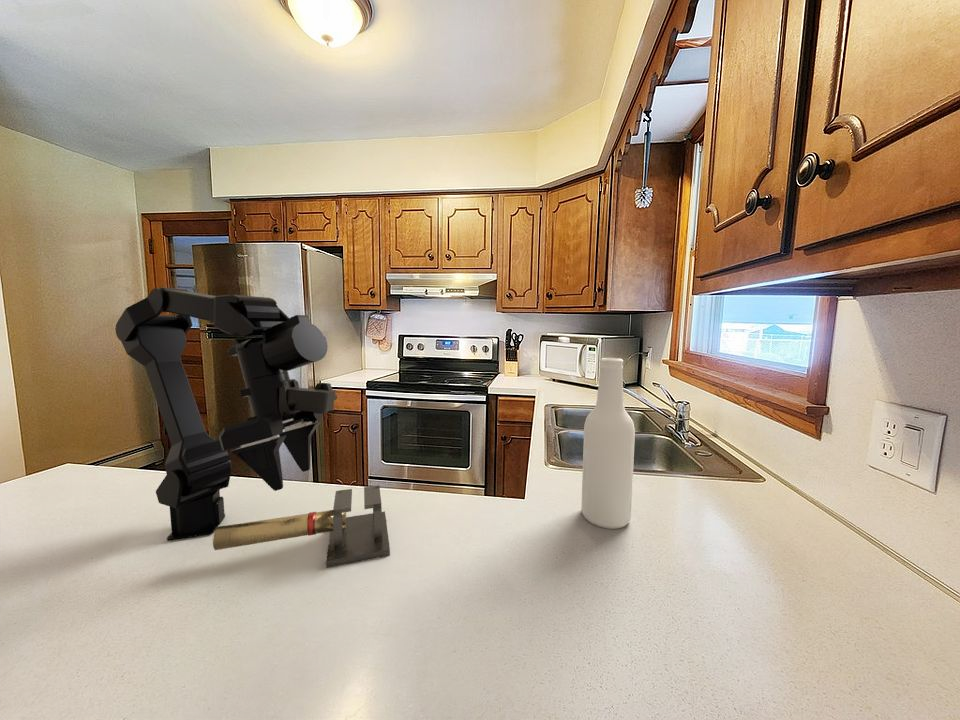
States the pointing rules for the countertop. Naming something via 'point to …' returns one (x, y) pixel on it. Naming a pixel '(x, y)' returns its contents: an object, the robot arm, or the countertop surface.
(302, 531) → the tube
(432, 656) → the countertop surface
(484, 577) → the countertop surface
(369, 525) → the grey slotted stand
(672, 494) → the countertop surface
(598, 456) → the alcohol
